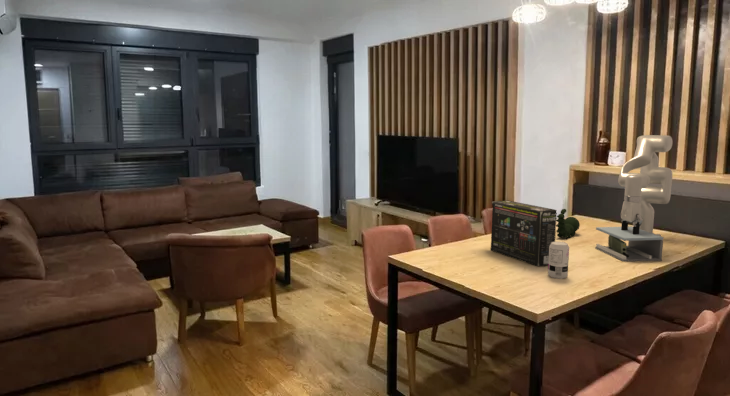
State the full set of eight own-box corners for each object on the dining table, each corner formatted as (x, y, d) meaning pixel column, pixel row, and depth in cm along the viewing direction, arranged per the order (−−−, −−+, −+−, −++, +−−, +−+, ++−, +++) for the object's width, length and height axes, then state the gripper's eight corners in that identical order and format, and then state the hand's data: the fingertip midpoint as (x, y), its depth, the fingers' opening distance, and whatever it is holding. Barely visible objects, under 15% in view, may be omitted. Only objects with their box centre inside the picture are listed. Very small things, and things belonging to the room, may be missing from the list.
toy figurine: (567, 243, 292) (583, 232, 310) (568, 211, 288) (584, 202, 306) (551, 241, 299) (568, 230, 316) (551, 210, 295) (568, 201, 312)
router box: (555, 264, 245) (558, 209, 241) (538, 267, 240) (541, 211, 236) (505, 248, 277) (507, 199, 273) (489, 250, 272) (490, 200, 268)
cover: (631, 228, 275) (631, 226, 275) (663, 239, 249) (663, 237, 249) (596, 229, 274) (596, 227, 273) (624, 240, 248) (624, 238, 248)
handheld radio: (614, 246, 275) (631, 258, 250) (607, 246, 275) (624, 258, 251) (614, 234, 274) (631, 245, 249) (607, 234, 274) (624, 245, 250)
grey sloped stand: (630, 247, 277) (631, 228, 275) (661, 260, 251) (663, 240, 249) (595, 248, 275) (596, 229, 274) (623, 261, 249) (624, 241, 248)
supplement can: (544, 273, 230) (546, 241, 228) (562, 273, 231) (564, 241, 229) (552, 279, 222) (554, 245, 220) (570, 278, 223) (572, 245, 221)
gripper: (615, 196, 267) (613, 228, 269) (635, 201, 250) (633, 236, 252) (629, 196, 268) (627, 228, 270) (650, 201, 250) (647, 235, 253)
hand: (630, 232), depth 261 cm, fingers open, 9 cm apart
